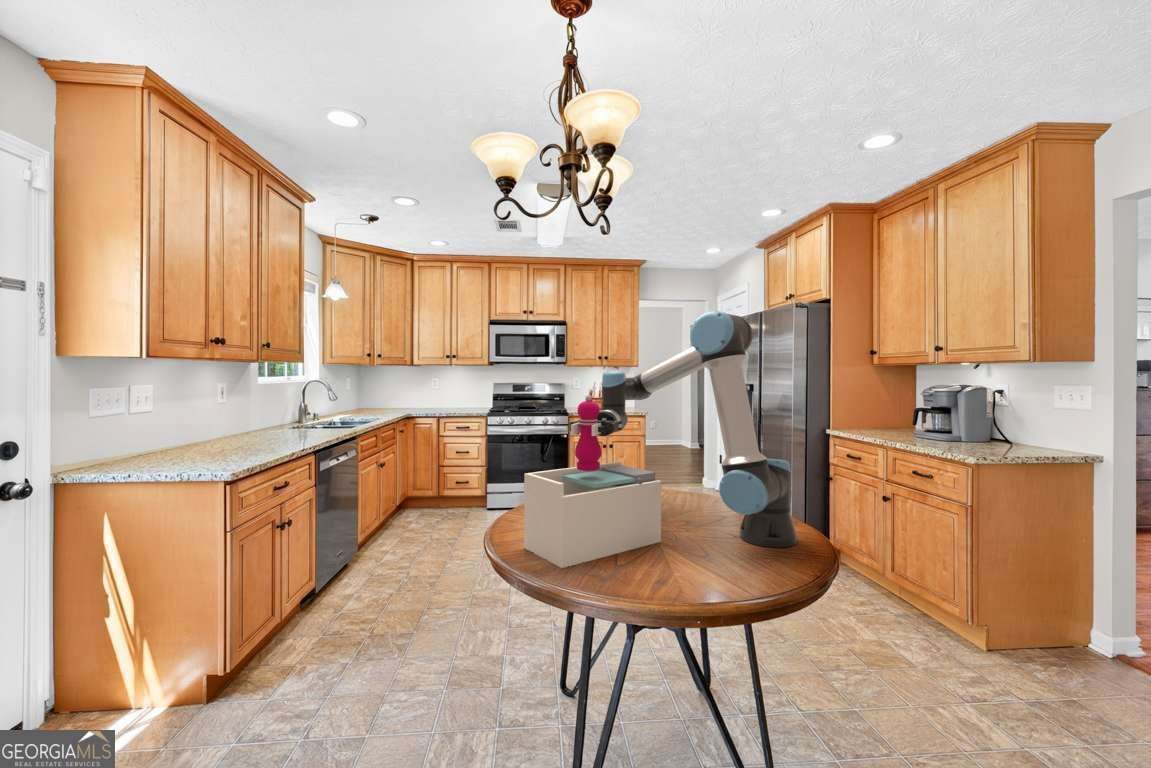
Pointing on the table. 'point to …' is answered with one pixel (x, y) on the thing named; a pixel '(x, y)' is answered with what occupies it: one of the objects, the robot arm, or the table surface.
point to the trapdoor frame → (587, 517)
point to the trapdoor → (611, 477)
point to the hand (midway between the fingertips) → (582, 430)
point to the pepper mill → (588, 437)
